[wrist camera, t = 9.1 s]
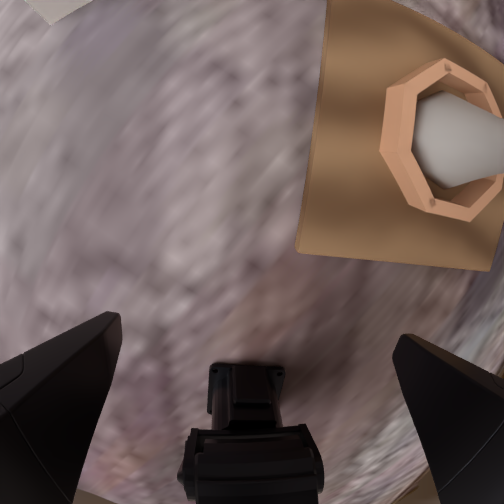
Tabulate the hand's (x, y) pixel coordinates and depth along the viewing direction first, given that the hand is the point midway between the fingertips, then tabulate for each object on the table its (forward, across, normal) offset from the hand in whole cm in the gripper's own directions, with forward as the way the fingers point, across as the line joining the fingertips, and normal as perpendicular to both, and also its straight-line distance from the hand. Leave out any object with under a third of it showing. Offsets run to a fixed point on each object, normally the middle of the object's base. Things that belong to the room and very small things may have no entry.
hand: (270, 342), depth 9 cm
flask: (+12, -13, -9) cm, 20 cm away
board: (+13, -13, -9) cm, 21 cm away
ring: (+12, -13, -9) cm, 20 cm away
